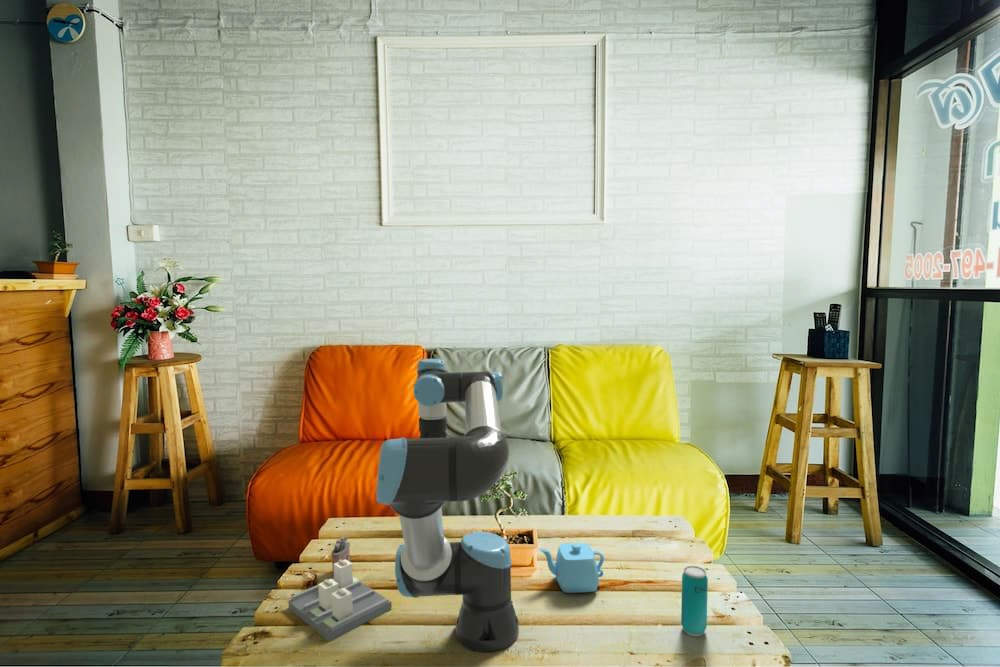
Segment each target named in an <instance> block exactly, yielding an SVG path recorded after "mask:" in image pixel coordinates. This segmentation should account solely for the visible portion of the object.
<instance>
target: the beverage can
mask: <svg viewBox="0 0 1000 667" xmlns="http://www.w3.org/2000/svg"><path fill="white" fill-rule="evenodd" d="M708 580H709V579H708V576H707V571H706V569H704V568H703V567H699V566H695V565H689V566H688V565H687V566H685V567H684V568H683V572H682V574H681V612H680V614H681V615H680V616H681V618H680V619H681V620H680V621H681V622H680V624H681V626H682V629H683V631H684V633H685V634H687V635H688V636H690V637H691V636H692V637H695V638H696V637H697V638H698V637H701V636H703V635H704V633H705V632H706V630H707V625H708V623H707V622H708V619H707V618H708Z"/></svg>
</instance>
